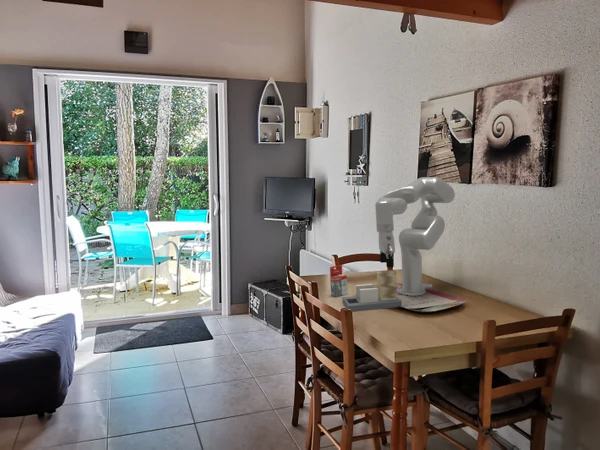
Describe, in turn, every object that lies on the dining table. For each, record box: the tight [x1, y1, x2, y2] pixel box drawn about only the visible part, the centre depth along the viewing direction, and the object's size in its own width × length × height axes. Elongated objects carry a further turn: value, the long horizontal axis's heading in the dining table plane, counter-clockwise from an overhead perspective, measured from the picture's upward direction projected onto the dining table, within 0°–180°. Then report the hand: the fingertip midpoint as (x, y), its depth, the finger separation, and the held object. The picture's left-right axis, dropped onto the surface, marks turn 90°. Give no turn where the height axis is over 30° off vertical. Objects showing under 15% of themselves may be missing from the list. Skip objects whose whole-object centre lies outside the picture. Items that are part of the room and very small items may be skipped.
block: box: [376, 269, 398, 299], centre depth 218 cm, size 8×4×12 cm, turn 96°
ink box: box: [329, 264, 349, 298], centre depth 236 cm, size 4×8×15 cm, turn 123°
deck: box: [341, 295, 403, 312], centre depth 219 cm, size 24×14×3 cm, turn 96°
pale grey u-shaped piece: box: [355, 283, 378, 303], centre depth 218 cm, size 8×9×6 cm
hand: (387, 264), depth 218 cm, fingers open, 9 cm apart
